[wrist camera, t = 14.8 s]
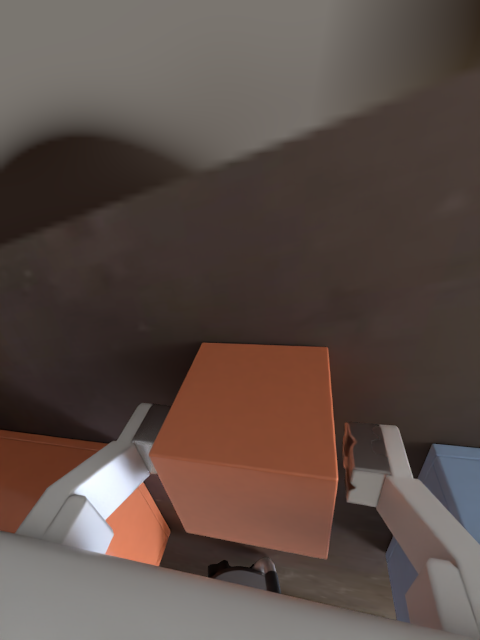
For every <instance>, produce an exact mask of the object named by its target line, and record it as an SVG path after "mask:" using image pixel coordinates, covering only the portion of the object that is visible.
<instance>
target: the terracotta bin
mask: <svg viewBox="0 0 480 640" xmlns="http://www.w3.org/2000/svg"><path fill="white" fill-rule="evenodd" d="M106 445H108V444H107V443H99V442H91V441H83V440H76V439H68V438H60V437H52V436H45V435H37V434H29V433H22V432H14V431H6V430H0V530H1V531H5V532H10V533H15V532H16V531H17V529H18V528H19V527H20V525H21V524H22V522H23V521H24V520H25V518H26V517H27V515H28V514H29V513H30V511H31V510H32V508H33V507H34V506H35V504H36V503H37V501H38V500H39V499H40V497H41V496H42V494H43V493H44V492H45V490H46V489H47V488H48V487H49V486H50V485H52V484H53V483H55V482H56V481H57V480H59V479H60V478H62V477H63V476H64V475H66V474H67V473H69V472H70V471H71V470H73V469H74V468H76V467H77V466H78V465H80V464H81V463H83V462H84V461H85V460H87V459H88V458H90V457H91V456H92V455H94V454H95V453H97V452H98V451H99V450H101V449H102V448H104V447H105V446H106ZM105 521H106V522H107V523H108V525H109V526H110V527H111V528H112V530H113V533H114V536H113V538H112V540H111V542H110V544H109V546H108V549H107V551H106V553H105V554H107V555H111V556H115V557H120V558H124V559H129V560H133V561H137V562H142V563H146V564H151V565H155V566H159V565H160V562H161V559H162V556H163V553H164V550H165V547H166V544H167V541H168V538H169V535H170V532H171V530H170V529H169V527H168V525H167V523H166V522H165V520H164V518H163V516H162V514H161V513H160V511H159V509H158V507H157V505H156V504H155V502H154V500H153V498H152V496H151V495H150V493H149V491H148V489H147V488H146V486H145V484H144V482H142V483H141V484H140V485H139V486H138V487H137V488H136V489H135V490H134V491H133V492H132V494H131V495H130V496H129V497H128V498H127V499H126V500H125V501H124V502H123V503H122V504H121V505H120V506H119V507H118V508H117V509H116V510H115V511H114V512H113V513H112V514H111V515H110V516H109V517H108V518H107V519H106V520H105Z"/></svg>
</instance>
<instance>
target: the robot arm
mask: <svg viewBox="0 0 480 640" xmlns="http://www.w3.org/2000/svg"><path fill="white" fill-rule="evenodd" d="M170 408H171V406H167V405H159V404H150V403H141V404H140V405H139V406H138V407H137V408H136V410H135V411H134V413H133V415H132V416H131V418H130V420H129V421H128V423H127V425H126V426H125V428H124V430H123V431H122V433H121V435H120V436H119V438H118V440H117V441H112V442H111V443H109V444H108V445H106V446H105V447H104V448H102V449H101V450H99V451H98V452H97V453H95V454H94V455H92V456H91V457H90V458H88V459H87V460H85V461H84V462H83V463H81V464H80V465H78V466H77V467H76V468H74V469H73V470H71V471H70V472H69V473H67V474H66V475H64V476H63V477H62V478H60V479H59V480H57V481H56V482H55V483H53V484H52V485H50V486H49V487H48V488H47V489H46V490H45V492H44V493H43V494H42V496H41V497H40V499H39V500H38V501H37V503H36V504H35V506H34V507H33V508H32V510H31V511H30V513H29V514H28V515H27V517H26V518H25V520H24V521H23V522H22V524H21V525H20V527H19V528H18V529H17V531H16V532H15V533H10V532H5V531H1V530H0V640H480V544H479V543H478V542H477V541H476V540H475V539H474V538H473V537H472V536H471V535H470V534H469V533H468V532H467V530H466V529H465V528H464V527H463V526H462V525H461V524H460V523H459V522H458V521H457V520H456V519H455V518H454V516H453V515H452V514H451V513H450V512H449V511H448V510H447V509H446V508H445V507H444V506H443V505H442V504H441V502H440V501H439V500H438V499H437V498H436V497H435V496H434V495H433V494H432V493H431V492H430V491H429V490H428V488H427V487H426V486H425V485H424V484H423V483H422V482H421V481H420V480H419V479H414V478H413V475H412V472H411V469H410V465H409V462H408V458H407V455H406V452H405V448H404V445H403V441H402V438H401V435H400V431H399V429H398V427H397V426H392V425H380V424H379V425H378V424H373V423H360V422H347V421H346V422H345V426H344V432H345V436H343V441H342V459H343V467H344V468H345V469H346V473H345V480H344V481H345V490H346V500H347V502H349V503H355V504H360V505H366V506H372V507H376V509H377V511H378V513H379V514H380V516H381V517H382V519H383V520H384V522H385V523H386V525H387V526H388V528H389V530H390V531H391V533H392V534H393V536H394V537H395V539H396V540H397V542H398V543H399V545H400V546H401V548H402V550H403V551H404V553H405V554H406V556H407V557H408V559H409V560H410V562H411V563H412V565H413V566H414V568H415V570H416V571H417V573H418V574H419V575H418V576H417V578H416V579H415V581H414V582H413V584H412V585H411V587H410V588H409V590H408V591H407V593H406V594H405V598H406V603H407V609H408V614H409V619H410V623H407V622H402V621H398V620H393V619H389V618H384V617H380V616H376V615H371V614H367V613H362V612H358V611H354V610H349V609H345V608H340V607H336V606H332V605H327V604H323V603H318V602H314V601H309V600H305V599H301V598H296V597H292V596H287V595H283V594H279V593H274V592H270V591H265V590H261V589H257V588H252V587H248V586H243V585H239V584H234V583H230V582H226V581H221V580H217V579H212V578H208V577H204V576H199V575H195V574H190V573H186V572H182V571H177V570H173V569H168V568H164V567H159V566H155V565H151V564H146V563H142V562H137V561H133V560H129V559H124V558H120V557H115V556H111V555H107V554H105V553H106V551H107V549H108V546H109V544H110V542H111V540H112V538H113V536H114V533H113V530H112V528H111V527H110V526H109V525H108V523H107V522H106V521H105V520H106V519H107V518H108V517H109V516H110V515H111V514H112V513H113V512H114V511H115V510H116V509H117V508H118V507H119V506H120V505H121V504H122V503H123V502H124V501H125V500H126V499H127V498H128V497H129V496H130V495H131V494H132V492H133V491H134V490H135V489H136V488H137V487H138V486H139V485H140V484H141V483H142V482H143V481H144V480H145V479H146V478H147V477H148V476H149V475H150V474H149V473H151V474H157V472H156V470H155V467H154V465H153V463H152V461H151V459H150V457H149V452H150V450H151V448H152V446H153V444H154V442H155V439H156V437H157V435H158V433H159V431H160V429H161V427H162V425H163V423H164V421H165V419H166V417H167V415H168V413H169V410H170Z"/></svg>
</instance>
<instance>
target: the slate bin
mask: <svg viewBox="0 0 480 640" xmlns="http://www.w3.org/2000/svg"><path fill="white" fill-rule="evenodd" d="M418 479H419V480H420V481H421V482H422V483H423V484H424V485H425V486H426V487H427V488H428V490H429V491H430V492H431V493H432V494H433V495H434V496H435V497H436V498H437V499H438V500H439V501H440V502H441V504H442V505H443V506H444V507H445V508H446V509H447V510H448V511H449V512H450V513H451V514H452V515H453V516H454V518H455V519H456V520H457V521H458V522H459V523H460V524H461V525H462V526H463V527H464V528H465V529H466V530H467V532H468V533H469V534H470V535H471V536H472V537H473V538H474V539H475V540H476V541H477V542H478V543H479V544H480V448H471V447H462V446H452V445H442V444H432V446H431V448H430V450H429V453H428V455H427V457H426V460H425V462H424V464H423V467H422V469H421V472H420V474H419V476H418ZM386 560H387V563H388V564H387V566H388V572H389V577H390V583H391V589H392V595H393V600H394V606H395V612H396V618H397V620H398V621H402V622H407V623H410V619H409V614H408V609H407V603H406V598H405V594H406V593H407V591H408V590H409V588H410V587H411V585H412V584H413V582H414V581H415V579H416V578H417V576H418V575H419V574H418V573H417V571H416V570H415V568H414V566H413V565H412V563H411V562H410V560H409V559H408V557H407V556H406V554H405V553H404V551H403V550H402V548H401V546H400V545H399V543H398V542H397V540H396V539H395V537H394V536H393V538H392V540H391V542H390V545H389V547H388V549H387V552H386Z"/></svg>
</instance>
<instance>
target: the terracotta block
mask: <svg viewBox="0 0 480 640" xmlns="http://www.w3.org/2000/svg"><path fill="white" fill-rule="evenodd" d="M149 457H150V459H151V461H152V463H153V465H154V467H155V470H156V472H157V474H158V476H159V478H160V480H161V482H162V484H163V486H164V488H165V490H166V492H167V494H168V496H169V498H170V500H171V502H172V504H173V506H174V508H175V510H176V512H177V514H178V516H179V518H180V520H181V522H182V524H183V526H184V528H185V530H186V532H187V533H192V534H198V535H203V536H208V537H213V538H218V539H223V540H228V541H234V542H239V543H244V544H249V545H254V546H259V547H264V548H270V549H275V550H280V551H285V552H290V553H295V554H301V555H306V556H311V557H316V558H321V559H327V556H328V549H329V542H330V535H331V528H332V521H333V514H334V507H335V500H336V493H337V486H338V467H337V454H336V442H335V429H334V416H333V404H332V391H331V378H330V366H329V353H328V348H327V347H310V346H283V345H256V344H229V343H202V344H201V346H200V348H199V350H198V353H197V355H196V357H195V359H194V361H193V363H192V365H191V367H190V369H189V371H188V373H187V375H186V377H185V379H184V381H183V384H182V386H181V388H180V390H179V392H178V394H177V396H176V398H175V400H174V402H173V404H172V406H171V408H170V410H169V413H168V415H167V417H166V419H165V421H164V423H163V425H162V427H161V429H160V431H159V433H158V435H157V437H156V439H155V442H154V444H153V446H152V448H151V450H150V452H149Z"/></svg>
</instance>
